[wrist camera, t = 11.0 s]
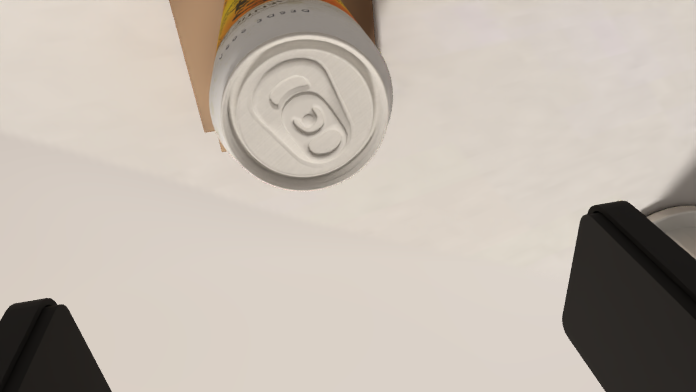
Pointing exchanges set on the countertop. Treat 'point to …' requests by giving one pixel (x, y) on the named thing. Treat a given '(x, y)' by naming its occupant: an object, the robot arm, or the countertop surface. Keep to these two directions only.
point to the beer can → (298, 92)
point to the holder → (202, 37)
